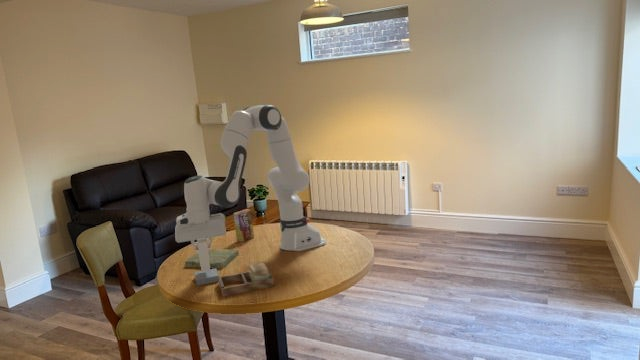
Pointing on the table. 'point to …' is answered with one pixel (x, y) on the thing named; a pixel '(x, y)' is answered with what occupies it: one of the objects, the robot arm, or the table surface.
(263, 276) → the block
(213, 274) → the slate plinth
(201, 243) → the tall white box
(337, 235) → the table surface
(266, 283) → the walnut rack
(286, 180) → the robot arm
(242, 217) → the candy box
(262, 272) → the offcut top
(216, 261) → the decorative tile
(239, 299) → the table surface
